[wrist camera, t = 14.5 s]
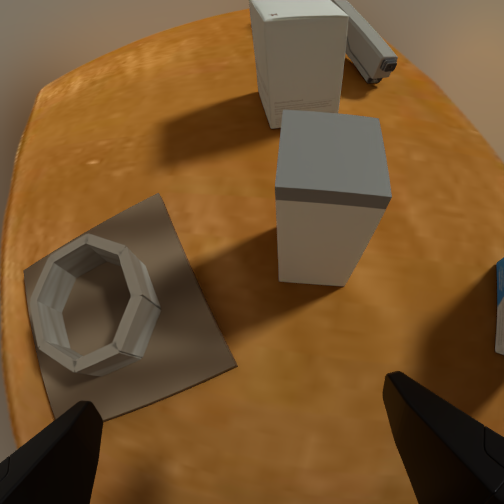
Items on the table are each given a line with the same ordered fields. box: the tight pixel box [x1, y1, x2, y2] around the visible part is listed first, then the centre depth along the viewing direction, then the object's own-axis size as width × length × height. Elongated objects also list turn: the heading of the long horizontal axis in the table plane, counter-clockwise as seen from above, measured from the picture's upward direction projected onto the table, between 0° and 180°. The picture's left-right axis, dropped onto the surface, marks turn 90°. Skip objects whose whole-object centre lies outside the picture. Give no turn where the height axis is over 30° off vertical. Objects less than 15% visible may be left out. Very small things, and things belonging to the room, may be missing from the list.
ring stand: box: [24, 193, 238, 422], centre depth 22 cm, size 16×16×5 cm
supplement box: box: [249, 0, 349, 129], centre depth 26 cm, size 7×7×13 cm
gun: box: [331, 0, 398, 83], centre depth 35 cm, size 2×25×10 cm, turn 18°
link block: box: [275, 110, 392, 286], centre depth 19 cm, size 5×5×12 cm
